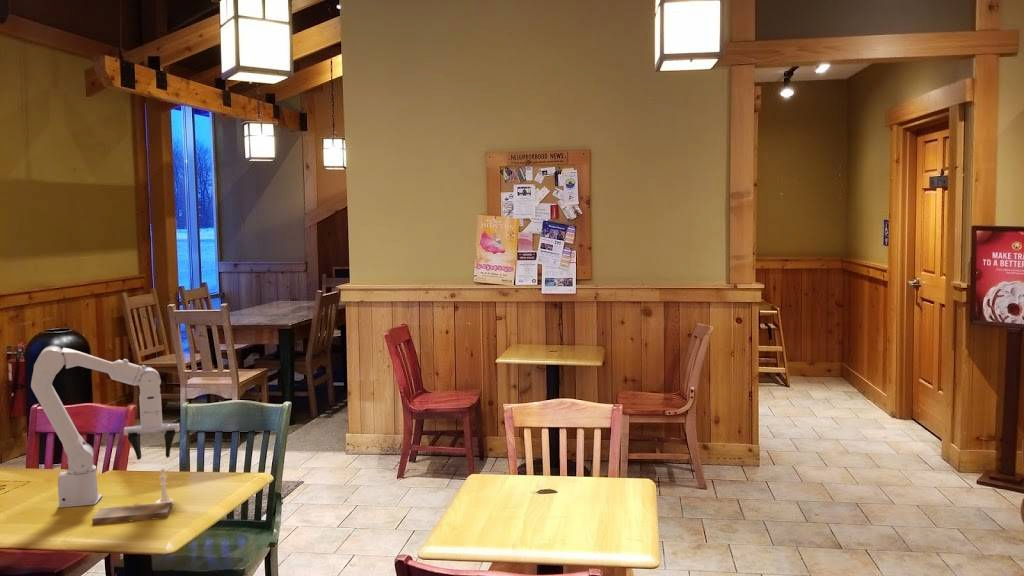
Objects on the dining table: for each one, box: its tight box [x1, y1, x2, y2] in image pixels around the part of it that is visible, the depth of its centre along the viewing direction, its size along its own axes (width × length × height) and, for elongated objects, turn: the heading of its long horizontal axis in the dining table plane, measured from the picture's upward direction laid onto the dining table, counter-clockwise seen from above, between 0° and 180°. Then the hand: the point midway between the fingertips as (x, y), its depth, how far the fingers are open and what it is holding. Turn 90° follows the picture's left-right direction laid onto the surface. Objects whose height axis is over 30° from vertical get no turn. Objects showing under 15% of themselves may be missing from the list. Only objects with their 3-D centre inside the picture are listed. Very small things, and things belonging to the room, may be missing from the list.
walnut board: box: [91, 502, 173, 525], centre depth 228 cm, size 18×8×2 cm, turn 102°
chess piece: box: [154, 467, 175, 505], centre depth 236 cm, size 5×5×10 cm
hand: (153, 457), depth 247 cm, fingers open, 7 cm apart
